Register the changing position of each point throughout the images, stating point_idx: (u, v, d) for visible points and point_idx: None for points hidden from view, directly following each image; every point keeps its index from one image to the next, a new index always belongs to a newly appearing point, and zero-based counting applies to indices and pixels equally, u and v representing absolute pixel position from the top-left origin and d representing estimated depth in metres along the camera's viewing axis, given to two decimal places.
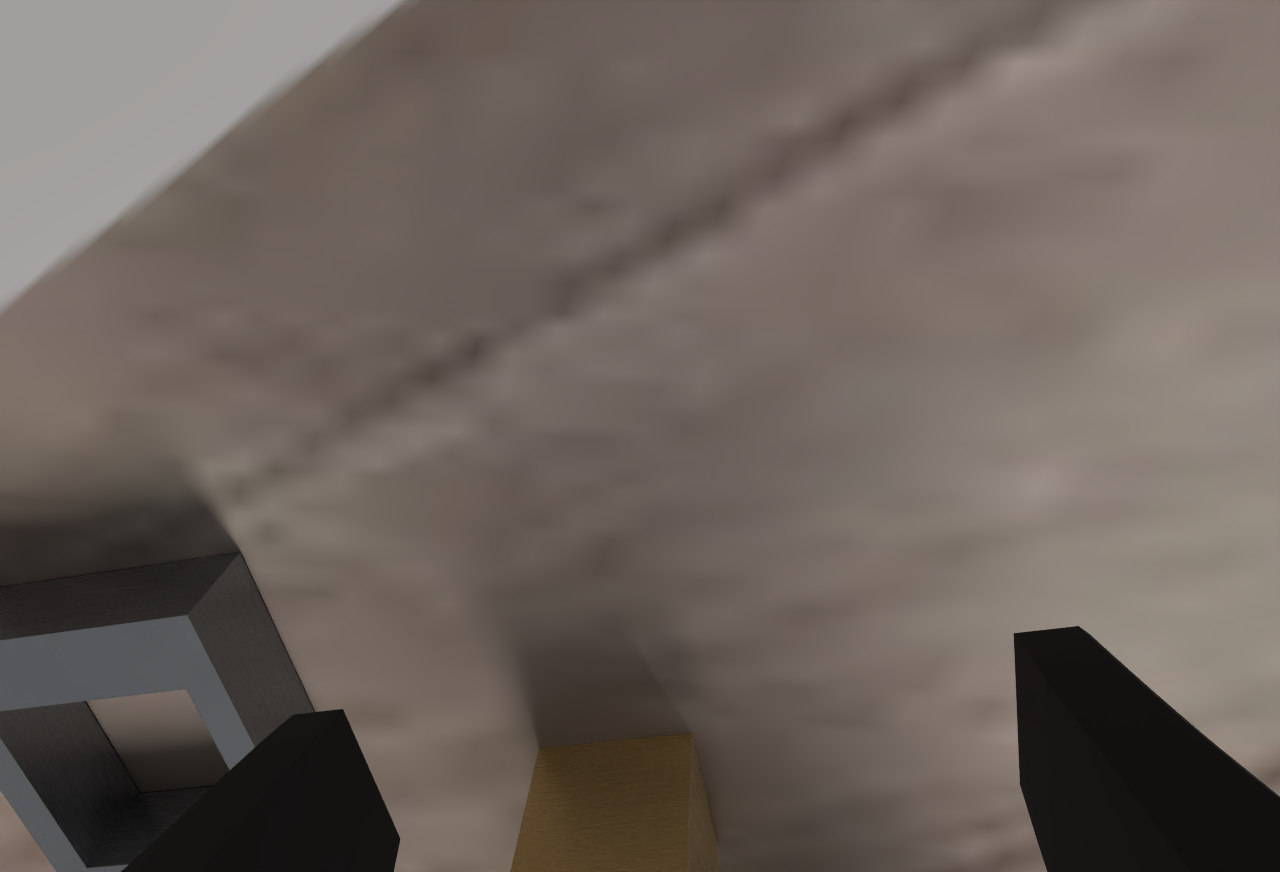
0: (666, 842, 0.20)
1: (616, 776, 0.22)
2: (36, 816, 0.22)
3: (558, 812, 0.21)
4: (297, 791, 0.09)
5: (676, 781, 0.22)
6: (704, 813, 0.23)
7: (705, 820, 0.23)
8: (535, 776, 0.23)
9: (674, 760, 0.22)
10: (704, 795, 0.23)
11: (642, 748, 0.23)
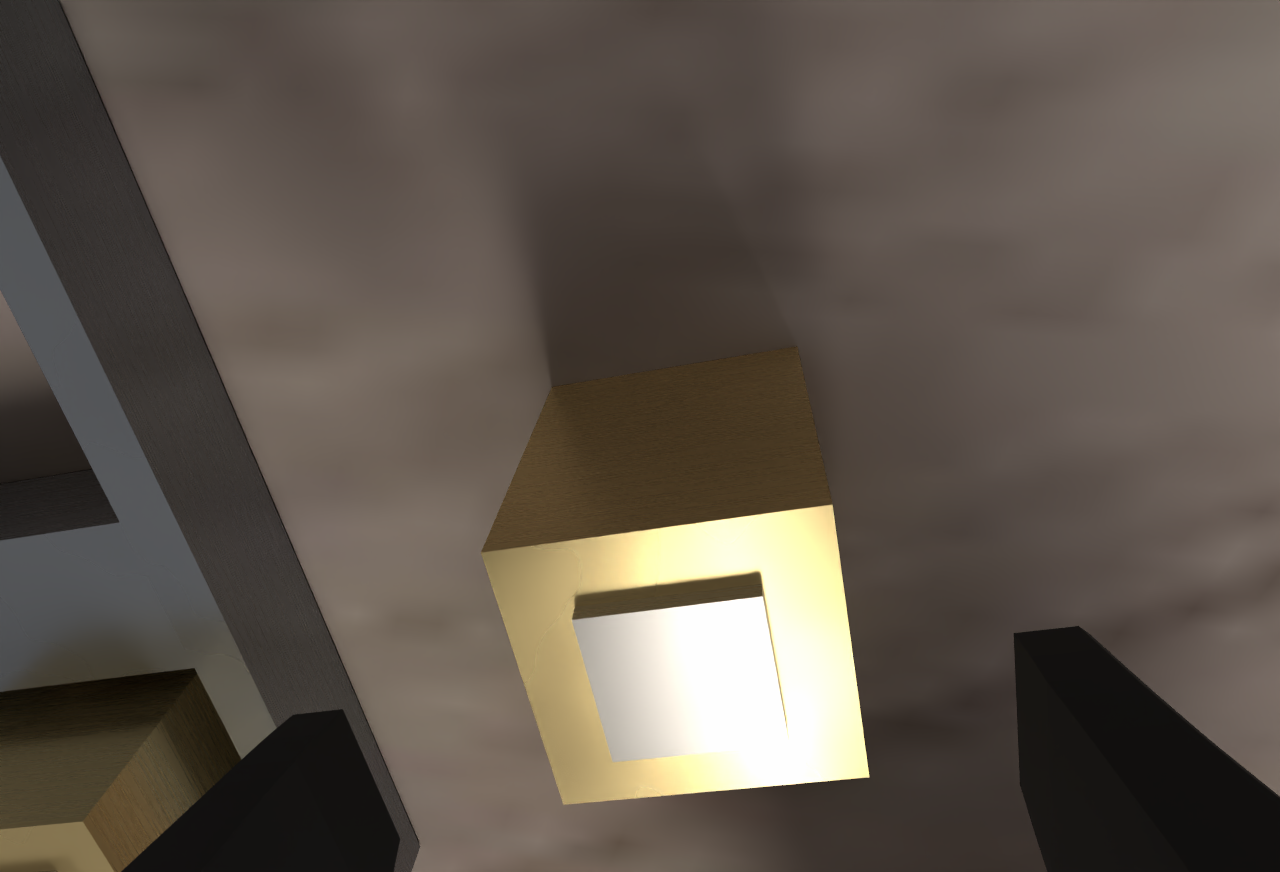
0: (777, 442, 0.11)
1: (679, 394, 0.14)
2: None
3: (586, 435, 0.13)
4: (296, 791, 0.09)
5: (782, 387, 0.13)
6: None
7: None
8: (546, 409, 0.14)
9: (774, 370, 0.14)
10: None
11: (719, 367, 0.14)
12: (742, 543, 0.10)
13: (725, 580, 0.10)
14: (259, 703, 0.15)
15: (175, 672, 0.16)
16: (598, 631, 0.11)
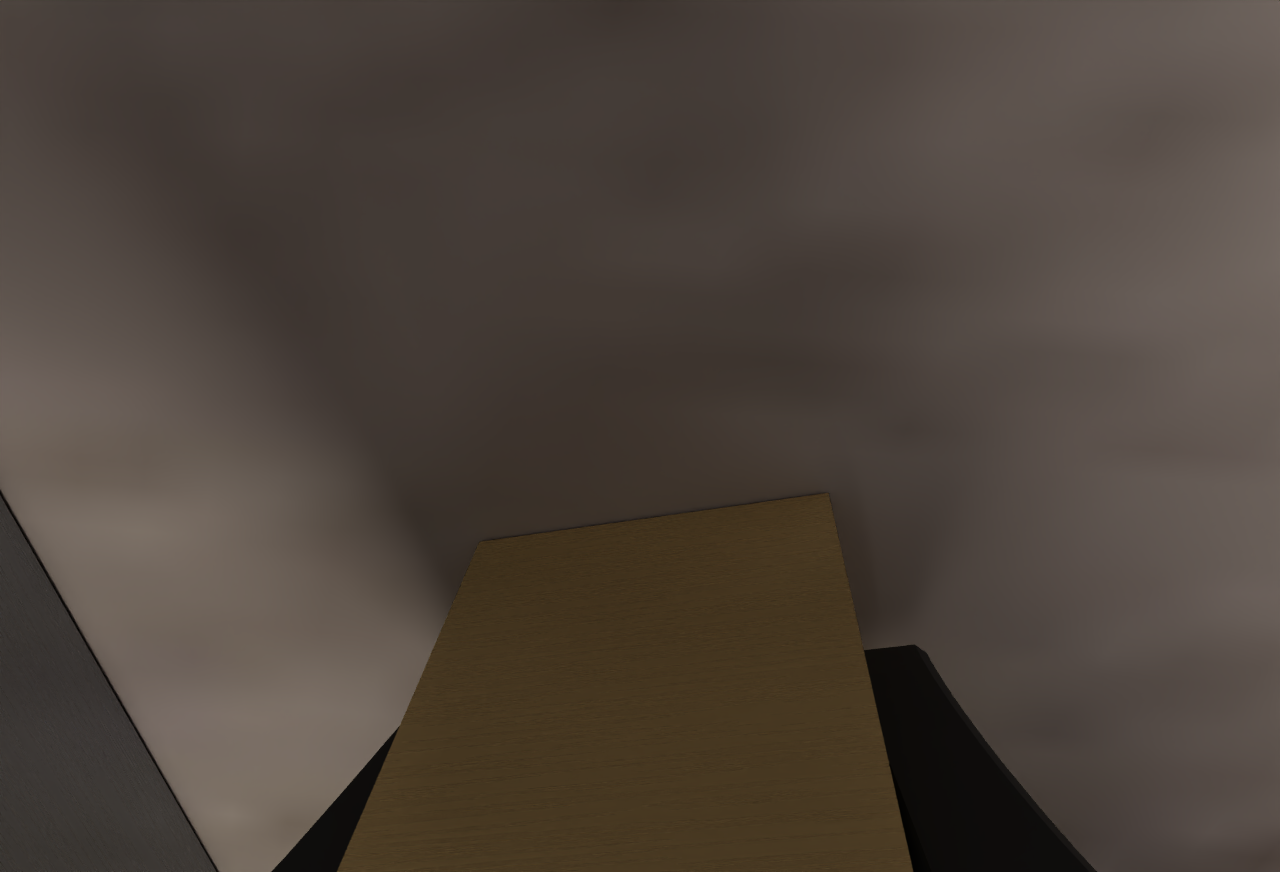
0: (812, 710, 0.07)
1: (657, 579, 0.09)
2: None
3: (513, 656, 0.08)
4: None
5: (812, 579, 0.09)
6: None
7: None
8: (464, 590, 0.10)
9: (797, 542, 0.09)
10: None
11: (715, 526, 0.10)
12: None
13: None
14: None
15: None
16: None
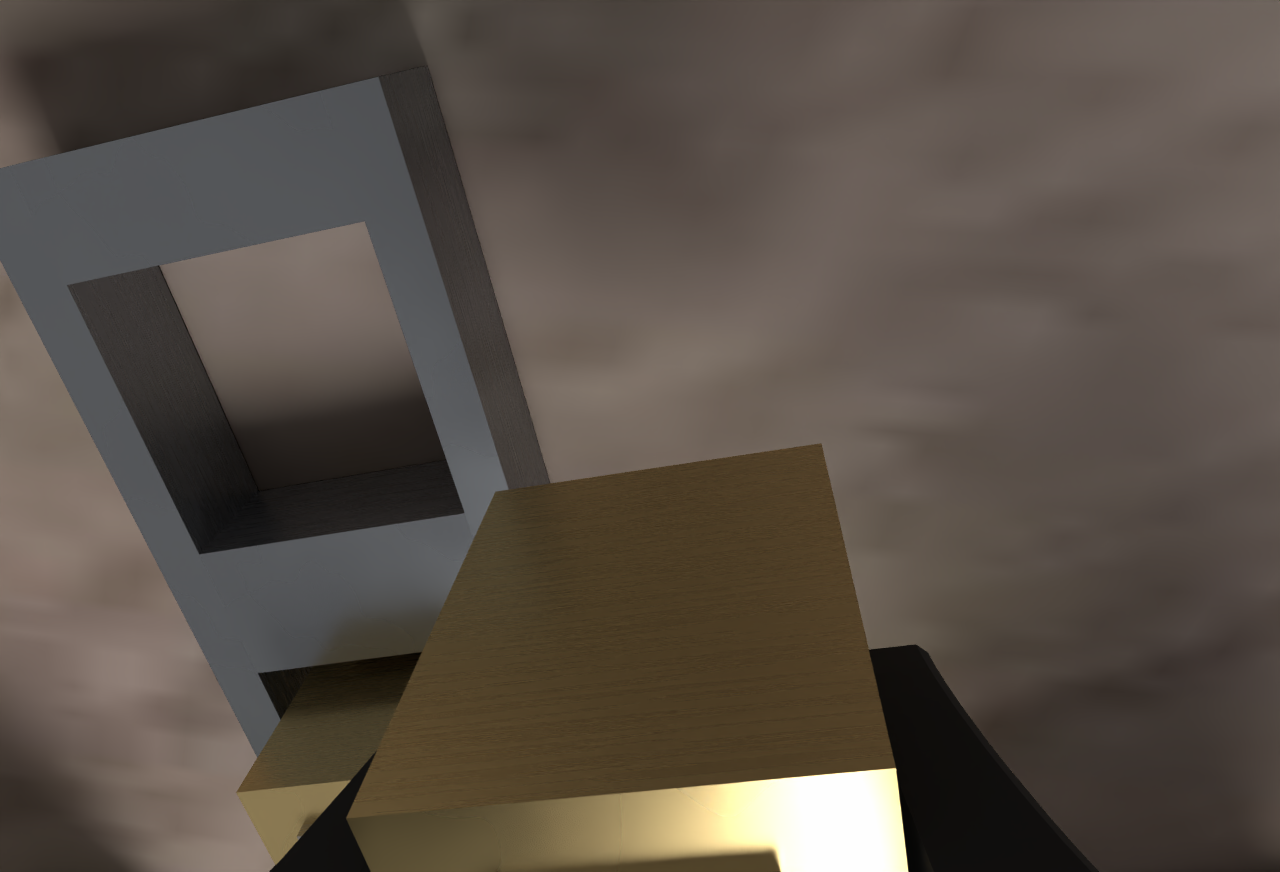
0: (802, 621, 0.08)
1: (661, 517, 0.10)
2: (134, 468, 0.16)
3: (529, 585, 0.09)
4: None
5: (805, 515, 0.09)
6: None
7: None
8: (482, 532, 0.10)
9: (792, 484, 0.10)
10: None
11: (716, 474, 0.10)
12: (750, 819, 0.06)
13: (724, 865, 0.07)
14: None
15: None
16: None
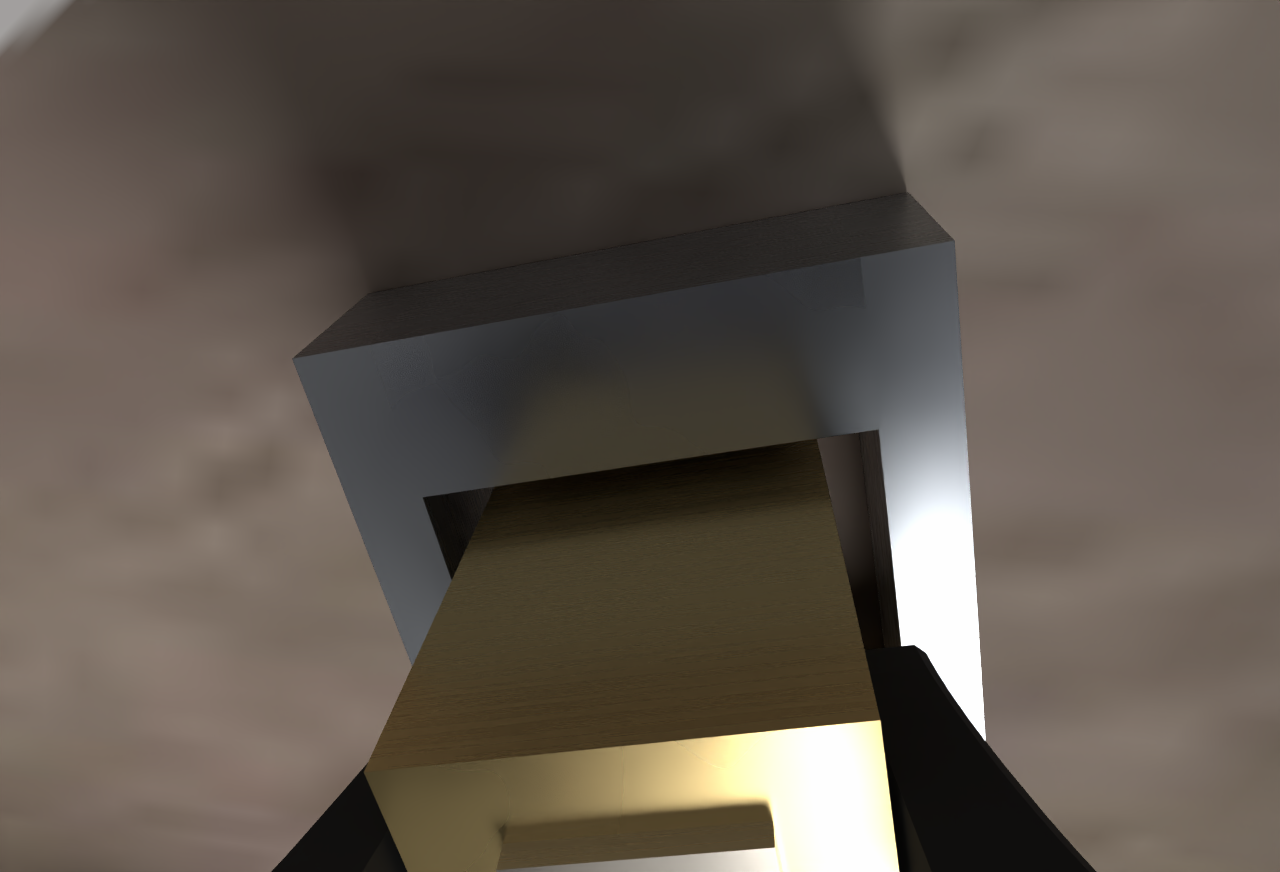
0: (795, 591, 0.08)
1: (660, 498, 0.10)
2: None
3: (534, 560, 0.10)
4: None
5: (797, 494, 0.10)
6: None
7: None
8: (488, 512, 0.11)
9: (785, 466, 0.10)
10: None
11: (713, 456, 0.11)
12: (744, 770, 0.07)
13: (719, 815, 0.07)
14: None
15: None
16: None
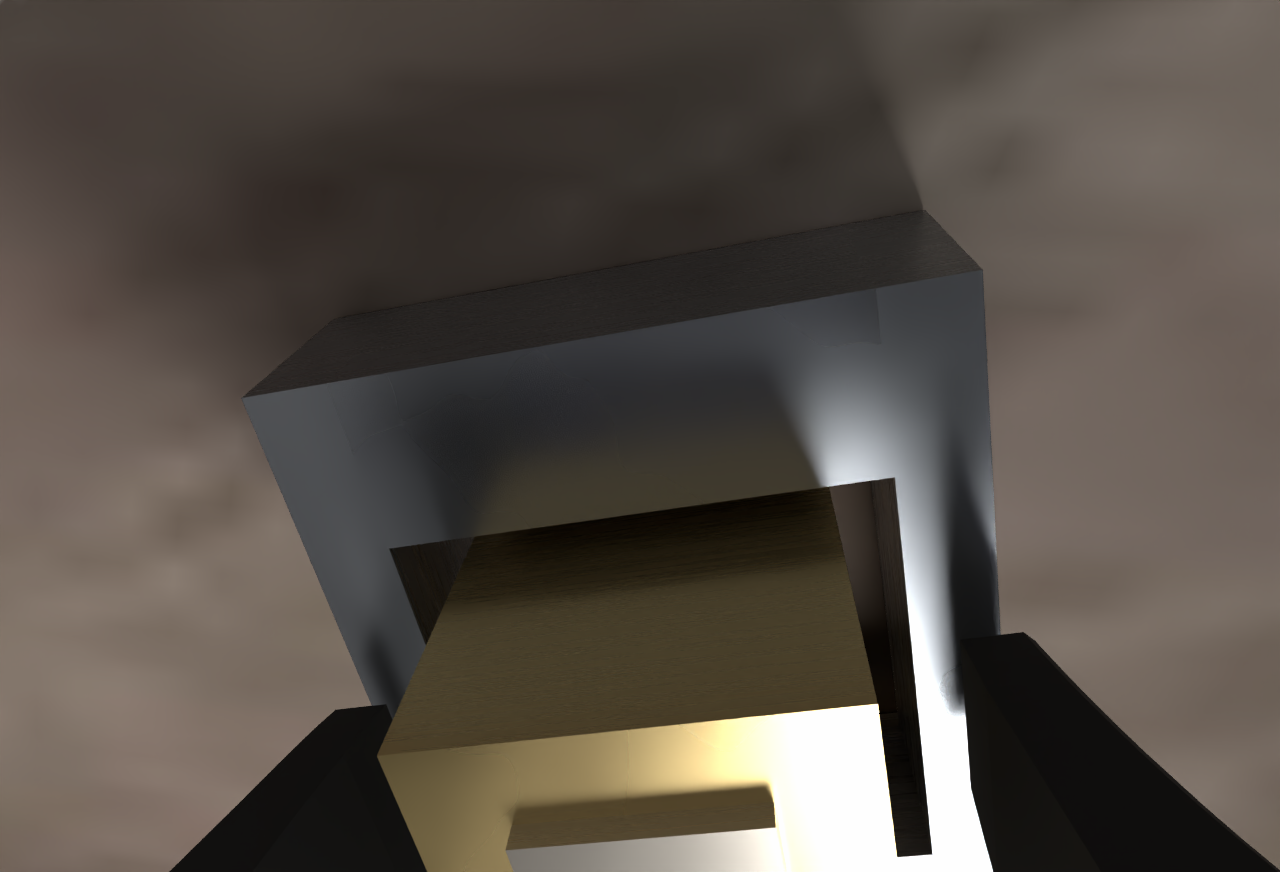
0: (795, 578, 0.08)
1: None
2: None
3: (540, 551, 0.10)
4: (344, 787, 0.09)
5: None
6: None
7: None
8: None
9: None
10: None
11: None
12: (746, 751, 0.07)
13: (722, 796, 0.07)
14: None
15: None
16: (544, 866, 0.07)
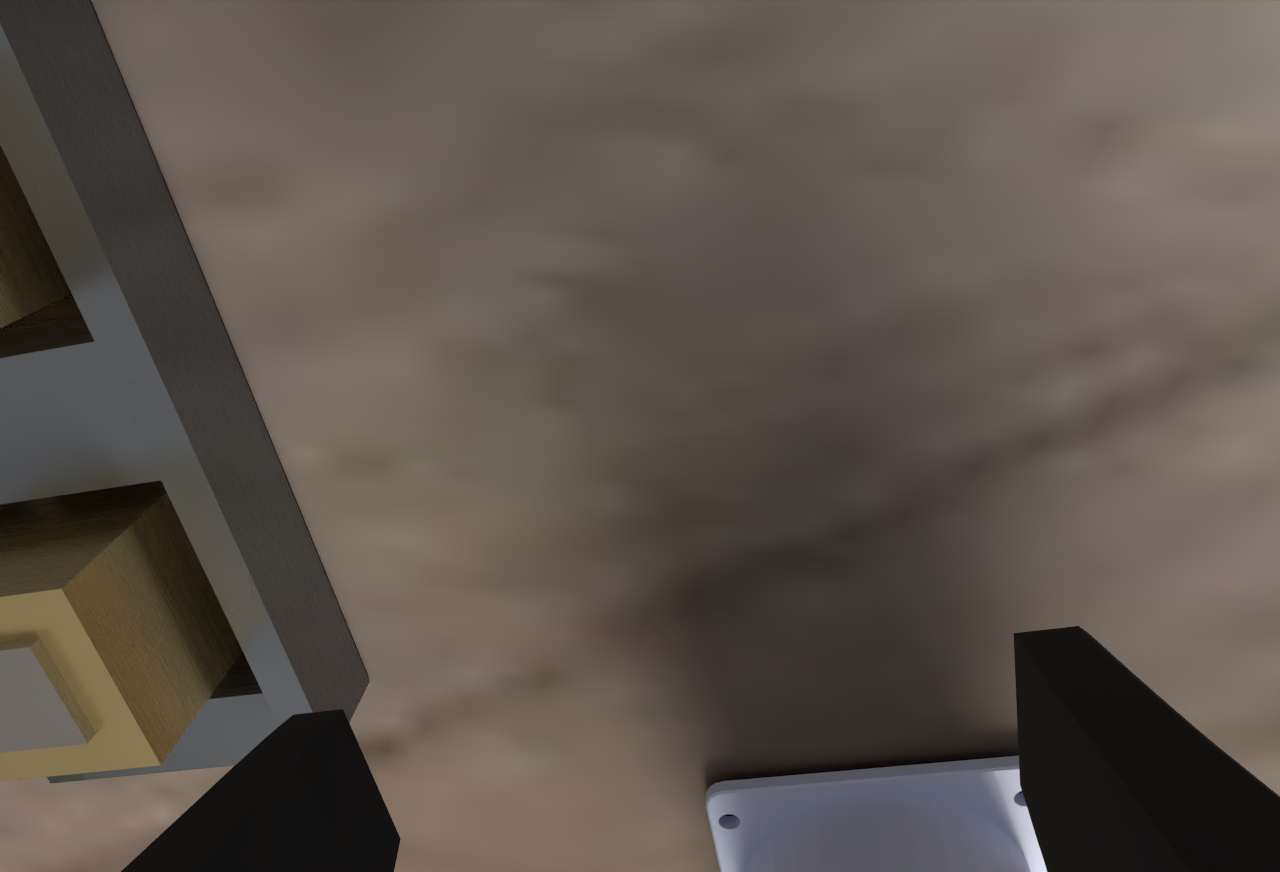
0: None
1: None
2: None
3: None
4: (296, 791, 0.09)
5: None
6: None
7: None
8: None
9: None
10: None
11: None
12: None
13: None
14: (217, 513, 0.17)
15: (145, 495, 0.18)
16: None
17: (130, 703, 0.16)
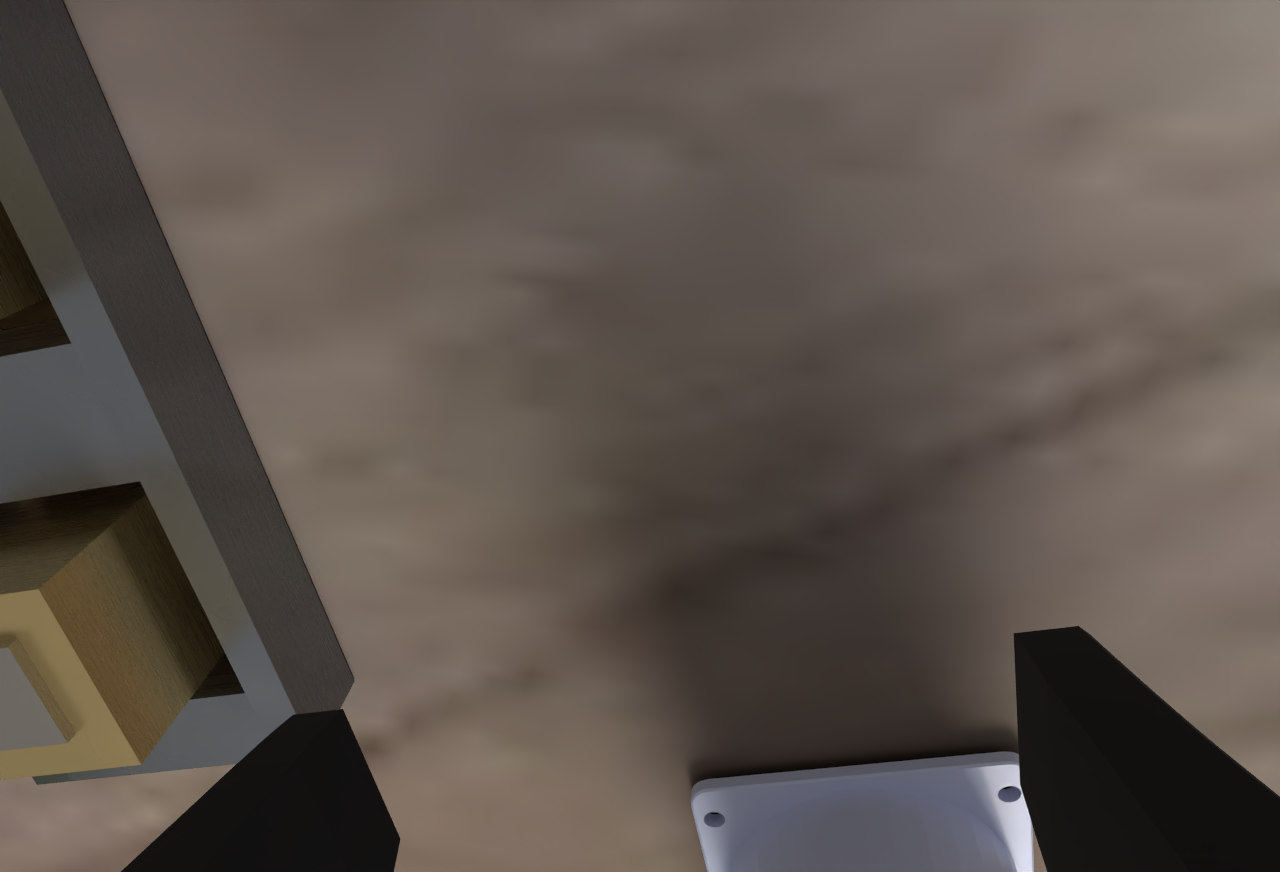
0: None
1: None
2: None
3: None
4: (297, 791, 0.09)
5: None
6: None
7: None
8: None
9: None
10: None
11: None
12: None
13: None
14: (196, 513, 0.17)
15: (126, 496, 0.18)
16: None
17: (109, 703, 0.16)
